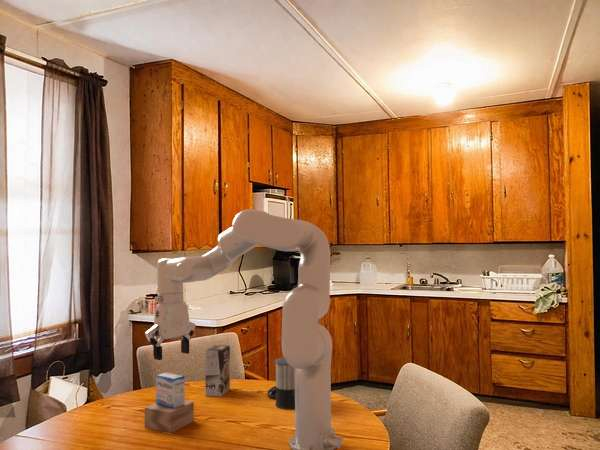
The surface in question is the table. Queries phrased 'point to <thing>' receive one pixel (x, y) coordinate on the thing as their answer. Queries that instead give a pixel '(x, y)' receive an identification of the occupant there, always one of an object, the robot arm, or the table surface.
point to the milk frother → (284, 385)
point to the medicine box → (170, 390)
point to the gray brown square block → (168, 417)
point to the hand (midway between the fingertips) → (172, 356)
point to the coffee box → (217, 370)
